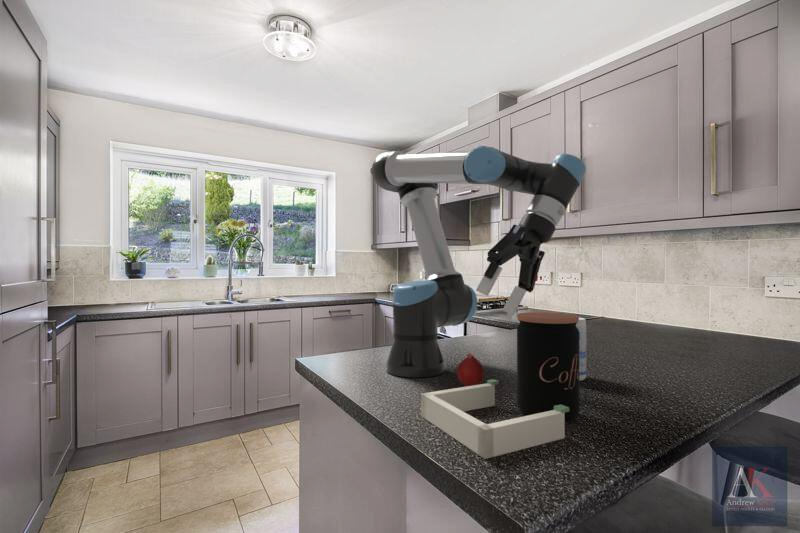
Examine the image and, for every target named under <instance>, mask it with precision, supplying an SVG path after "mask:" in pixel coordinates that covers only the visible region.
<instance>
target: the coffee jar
mask: <svg viewBox="0 0 800 533" xmlns="http://www.w3.org/2000/svg"><path fill="white" fill-rule="evenodd" d="M516 317H517V318H516V319H517V320H518V322H519V324H518V326H517V327H516V368H517V369H516V375H517V376H516V377H517V378H516V379H517V380H516V384H517V385H516V386H517V387H516V388H517V389H516V395H517V396H516V397H517V398H516V402H517V407H518V409H519V410H520V412H521V413H522V414H523V415H524V416H528V415H533V414H537V413H542V412H547V411H551V410H554V406H556V405H564V406H566V407H569V412H565V413H564V415H565V424H566V423H570V422H572V421H575V420H576V418H577V417H578V416H579V413H580V402H581V401H580V399H581V398H580V381H579V330H578V328H577V327H576V324H577V322H578V321H579V317H580V316H578V315H576V314H572V313H563V312H562V313H561V312H548V311H546V312H543V311H542V312H541V311H535V312H533V311H531V312H529V311H528V312H519V313H517V314H516Z"/></svg>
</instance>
